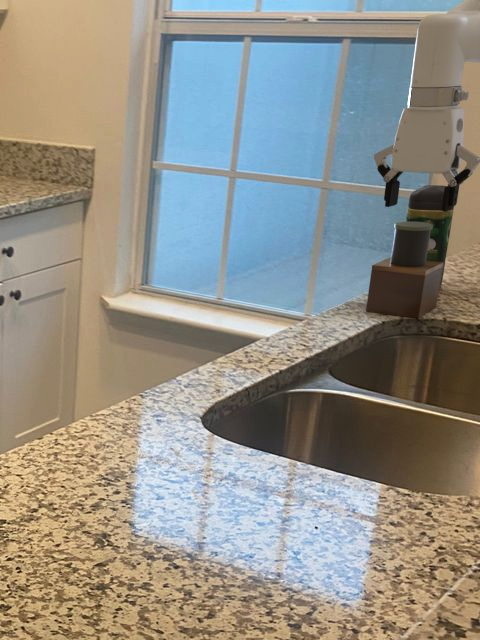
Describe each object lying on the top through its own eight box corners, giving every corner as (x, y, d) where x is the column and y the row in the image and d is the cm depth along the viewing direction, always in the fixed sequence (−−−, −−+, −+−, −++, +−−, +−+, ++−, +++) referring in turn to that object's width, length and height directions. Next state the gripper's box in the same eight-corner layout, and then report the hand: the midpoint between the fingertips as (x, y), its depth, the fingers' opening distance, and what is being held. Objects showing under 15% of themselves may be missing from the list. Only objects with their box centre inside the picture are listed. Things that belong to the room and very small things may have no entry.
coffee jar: (398, 281, 200) (413, 182, 192) (442, 284, 197) (459, 183, 189) (392, 291, 192) (408, 188, 184) (438, 294, 189) (456, 190, 181)
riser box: (384, 301, 185) (391, 256, 182) (436, 308, 180) (443, 262, 177) (365, 311, 179) (372, 265, 176) (418, 318, 174) (425, 270, 170)
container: (414, 259, 179) (420, 220, 176) (433, 266, 174) (440, 226, 171) (382, 261, 178) (388, 222, 176) (400, 267, 173) (406, 227, 170)
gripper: (498, 97, 162) (480, 209, 169) (392, 96, 173) (380, 201, 181) (478, 101, 157) (461, 215, 164) (371, 100, 169) (359, 207, 176)
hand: (418, 208), depth 172 cm, fingers open, 9 cm apart
